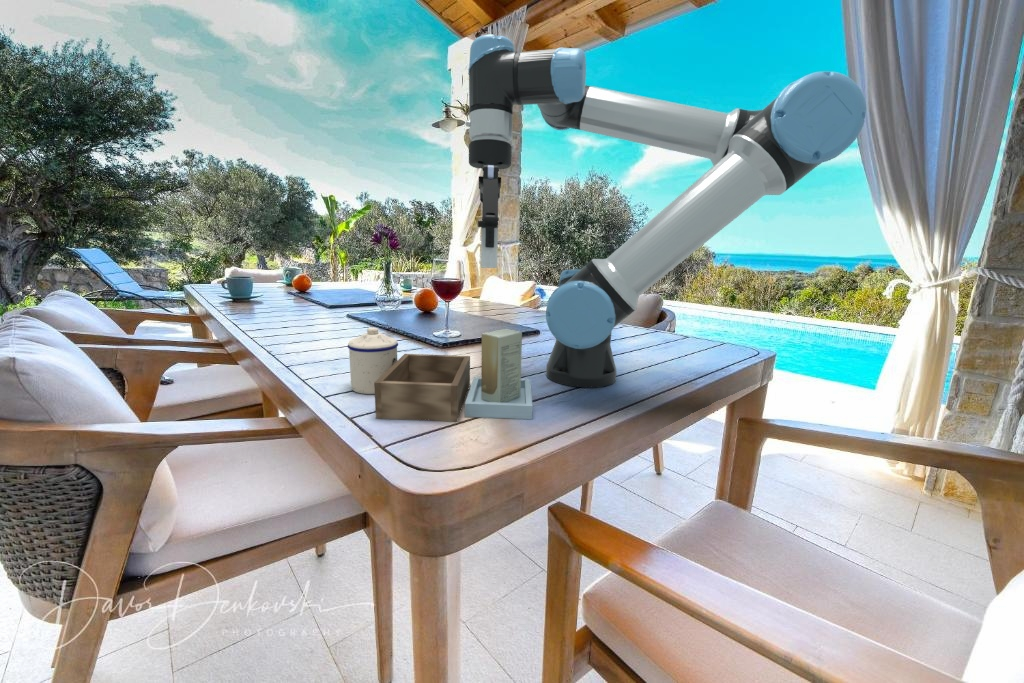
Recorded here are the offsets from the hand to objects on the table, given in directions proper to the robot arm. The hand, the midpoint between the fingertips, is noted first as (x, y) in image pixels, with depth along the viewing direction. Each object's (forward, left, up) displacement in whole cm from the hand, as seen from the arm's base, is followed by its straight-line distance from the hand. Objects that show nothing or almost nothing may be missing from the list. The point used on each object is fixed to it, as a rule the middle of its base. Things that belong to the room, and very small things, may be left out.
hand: (488, 266), depth 77 cm
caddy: (+10, +8, -24) cm, 27 cm away
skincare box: (-3, +8, -23) cm, 25 cm away
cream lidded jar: (+22, +1, -24) cm, 33 cm away
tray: (-3, +8, -24) cm, 25 cm away
